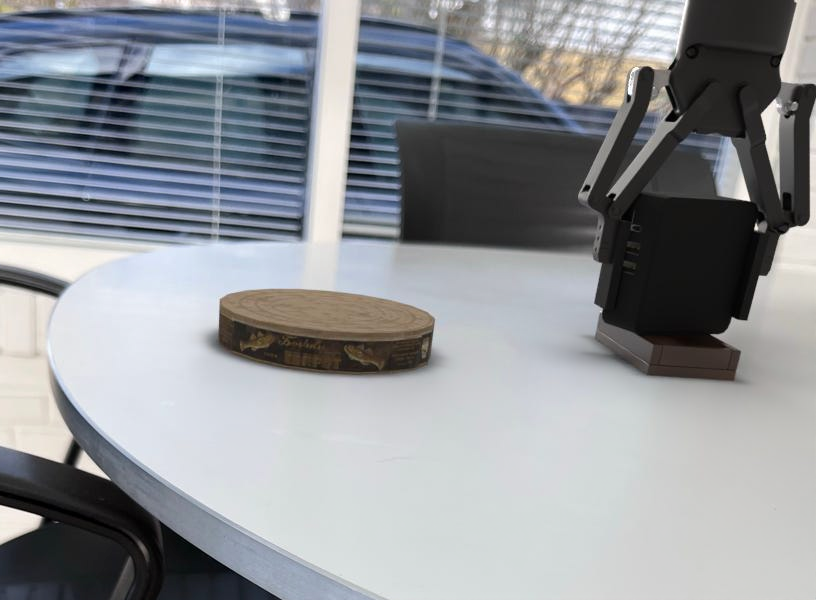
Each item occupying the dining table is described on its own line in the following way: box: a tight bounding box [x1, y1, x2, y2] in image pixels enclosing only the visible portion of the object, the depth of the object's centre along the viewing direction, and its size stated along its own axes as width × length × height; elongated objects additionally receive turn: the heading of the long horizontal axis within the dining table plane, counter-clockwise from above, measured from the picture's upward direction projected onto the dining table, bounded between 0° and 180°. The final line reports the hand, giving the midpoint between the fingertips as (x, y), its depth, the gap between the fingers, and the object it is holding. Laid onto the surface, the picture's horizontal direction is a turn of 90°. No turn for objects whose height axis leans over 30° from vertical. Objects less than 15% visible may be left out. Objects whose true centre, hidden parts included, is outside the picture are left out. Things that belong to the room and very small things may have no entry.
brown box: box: [594, 310, 742, 382], centre depth 86 cm, size 7×13×2 cm, turn 5°
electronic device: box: [602, 190, 758, 335], centre depth 83 cm, size 4×10×10 cm, turn 116°
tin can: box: [217, 288, 436, 376], centre depth 78 cm, size 16×16×3 cm
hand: (670, 312), depth 85 cm, fingers closed on electronic device, 10 cm apart
